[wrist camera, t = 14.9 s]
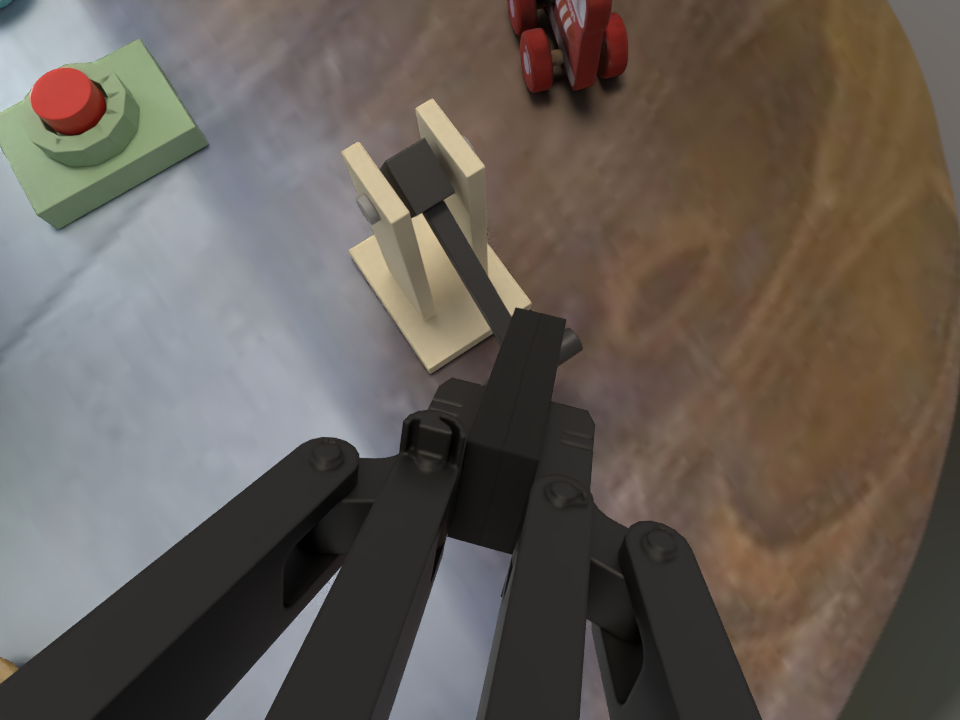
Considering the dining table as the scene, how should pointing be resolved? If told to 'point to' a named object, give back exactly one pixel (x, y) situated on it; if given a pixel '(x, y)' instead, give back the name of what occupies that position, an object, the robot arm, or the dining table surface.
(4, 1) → the cupcake
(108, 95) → the button block
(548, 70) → the red toy car
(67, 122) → the button
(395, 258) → the bracket
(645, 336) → the dining table surface
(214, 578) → the robot arm
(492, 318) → the lever
